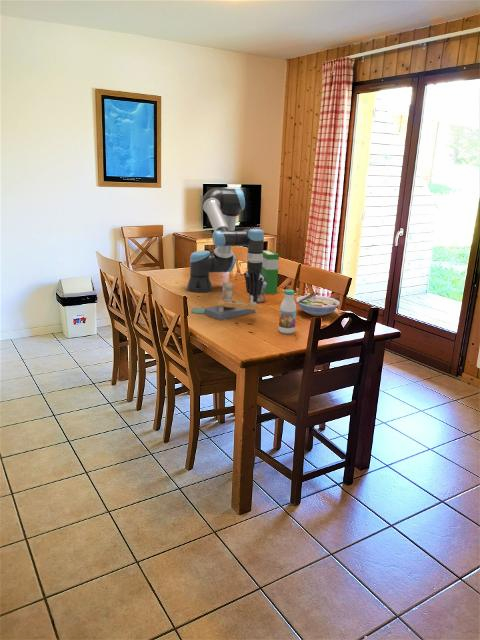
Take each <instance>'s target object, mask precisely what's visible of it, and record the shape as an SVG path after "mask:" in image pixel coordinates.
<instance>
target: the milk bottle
mask: <svg viewBox="0 0 480 640" xmlns="http://www.w3.org/2000/svg"><path fill="white" fill-rule="evenodd" d="M283 293H284V294H283V295H284V297H283V300H282V301H281V303H280V308H279V316H278V317H279V319H278V331H279V333H281V334H287V335H289V334H290V335H291V334H294V333H295V330H296V322H297V321H296V320H297V319H296V318H297V305H296V304H297V303H296V301H295V298H294V296H295V290H293V289H284V292H283Z"/></svg>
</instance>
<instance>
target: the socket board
mask: <svg viewBox="0 0 480 640" xmlns="http://www.w3.org/2000/svg"><path fill="white" fill-rule="evenodd" d="M235 302H236V303H242V304H246V303H245V302H242V301H235ZM254 313H256V310H251V309H242V308H232V309H228V310H225V309H224V307H218V305H217V306H212V307H211V306H210V307H205V309H204V314H203V315H205V314H206V315H205V316H208V317H210V316H211V318H213V317H214V318H213V319H215V318H216V320H218V319H219V320H218V321H225V320H228V318H229V319H233V318H237V317H242V316H245V315H246V316H247V315H250V314H254ZM224 319H225V320H224Z"/></svg>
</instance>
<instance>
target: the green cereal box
mask: <svg viewBox="0 0 480 640" xmlns="http://www.w3.org/2000/svg"><path fill="white" fill-rule="evenodd" d="M279 261H280V254H279V253H277V252H275V251H274V250H272V249H270V248H269V249H268V250H263V261H261V262H262V263H263V264H262V270H261V274H262V276H263V277H265V280H264V281H263V282H266V283H267V285H266V288H265V292H264V295H276V293H278V292H277V291H278V277H279V265H280V264H279Z"/></svg>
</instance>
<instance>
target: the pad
mask: <svg viewBox="0 0 480 640" xmlns="http://www.w3.org/2000/svg"><path fill="white" fill-rule="evenodd" d="M205 308H206V307H205ZM205 308H204V307H196V308H192V309H191V311H190V312H191V313H192V312H193V314H195V313H197V315H205V314H204V309H205Z"/></svg>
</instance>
